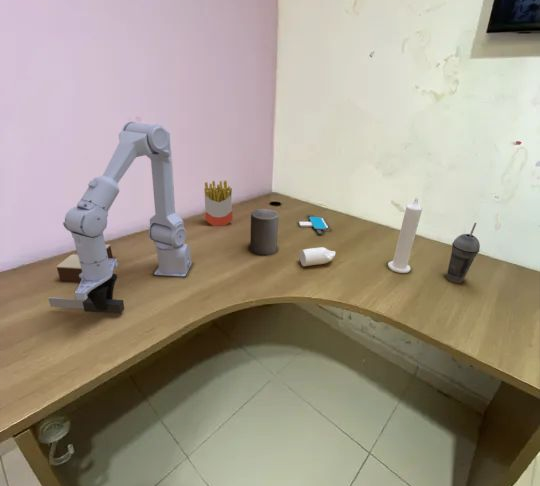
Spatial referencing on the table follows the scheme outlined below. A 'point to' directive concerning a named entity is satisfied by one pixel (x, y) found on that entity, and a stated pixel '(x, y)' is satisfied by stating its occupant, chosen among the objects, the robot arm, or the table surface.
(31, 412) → the table surface
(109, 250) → the cake slice
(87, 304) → the knife
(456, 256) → the beverage cup
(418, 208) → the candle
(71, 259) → the cake
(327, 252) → the white bottle
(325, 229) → the blue flat paddle
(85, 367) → the table surface
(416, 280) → the table surface
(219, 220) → the french fries container
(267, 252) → the pillar candle
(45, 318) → the table surface
